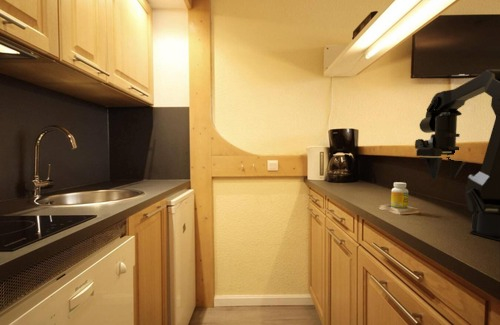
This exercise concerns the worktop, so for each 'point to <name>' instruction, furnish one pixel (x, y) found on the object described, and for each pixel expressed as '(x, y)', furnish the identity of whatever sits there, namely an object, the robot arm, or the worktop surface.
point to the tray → (406, 211)
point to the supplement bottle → (399, 196)
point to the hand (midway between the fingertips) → (443, 178)
